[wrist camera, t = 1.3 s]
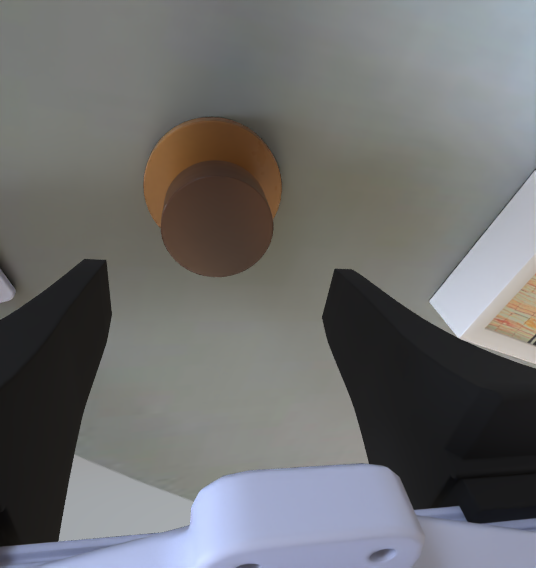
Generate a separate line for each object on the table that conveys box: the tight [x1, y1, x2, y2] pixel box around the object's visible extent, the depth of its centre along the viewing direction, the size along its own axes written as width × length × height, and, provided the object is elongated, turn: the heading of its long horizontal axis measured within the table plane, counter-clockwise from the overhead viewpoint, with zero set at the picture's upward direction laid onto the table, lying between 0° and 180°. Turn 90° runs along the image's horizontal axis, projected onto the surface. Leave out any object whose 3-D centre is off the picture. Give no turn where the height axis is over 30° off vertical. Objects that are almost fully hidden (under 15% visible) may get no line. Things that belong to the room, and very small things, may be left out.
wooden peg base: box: [143, 117, 282, 228], centre depth 19 cm, size 7×7×3 cm
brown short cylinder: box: [161, 160, 273, 277], centre depth 17 cm, size 5×5×2 cm
